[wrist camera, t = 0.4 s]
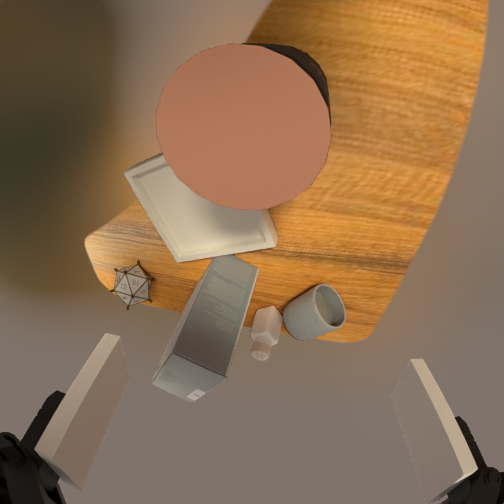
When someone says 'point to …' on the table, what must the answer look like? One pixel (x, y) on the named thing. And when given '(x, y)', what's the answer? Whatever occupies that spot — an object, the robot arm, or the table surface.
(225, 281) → the hard drive box
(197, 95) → the coffee jar
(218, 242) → the tray
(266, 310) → the pepper shaker
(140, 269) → the game die
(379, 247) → the table surface
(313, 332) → the ceramic mug
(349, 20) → the table surface
